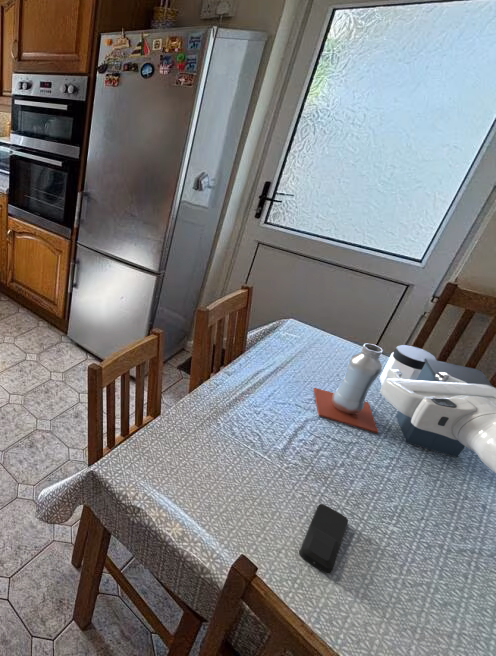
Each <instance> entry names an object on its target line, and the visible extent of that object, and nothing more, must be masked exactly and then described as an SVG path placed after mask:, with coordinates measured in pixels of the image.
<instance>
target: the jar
mask: <svg viewBox="0 0 496 656" xmlns="http://www.w3.org/2000/svg"><path fill="white" fill-rule="evenodd" d="M425 358H428V359H433V360H437V358H436V356H435V355H434V354H432V353H431V352H429V351H427V350H425V349H422V348H419V347H417V346H412V345H408V344H401V345H397V346H396V347H395V349H394V350H393V352H391V354H390V356H389V358H388V360H387V362H386V363H385V366H384V368H383V369H382V371H381V373H380V375H379V381H380V387H381V386H382V384H383V383H384V381H385V380H386V379H387V378H389V377H388V376H387V372H388V370H389V369H397V370H399V371H400V372H401V373H402V376H401V377H400V378H404V379H406V380H416V379H417V377H418V375H419V374H420V372H421V370H422V368H423V366H424V364H425V361H424V360H425Z"/></svg>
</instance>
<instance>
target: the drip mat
mask: <svg viewBox="0 0 496 656" xmlns="http://www.w3.org/2000/svg"><path fill="white" fill-rule="evenodd" d="M313 393H314V394H313V395H314V398H315V404H316V409H317V410H316V411H317V415H318V417H320V418H324V419H328V420H330V421H333V422H336V423H337V422H338V423H341V424H344V425H347V426H349V427H354V428H357V429H360V430H364V431H367V432H371V433H374V434H378V433H379V430H378V428H377V425H376V422H375V419H374V416H373V413H372V410H371V407H370V404H369V402H367V401H365V403H364V407H363V409H362V410H361V411H360V412H359V413H356V414H348V413H345V412H342V411H340V410H339V409H337V408H336V407H335V406H334V405H333V402H332V395H333V394H334V392H331V391H327V390H323V389H320V388H317V387H314V388H313Z"/></svg>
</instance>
